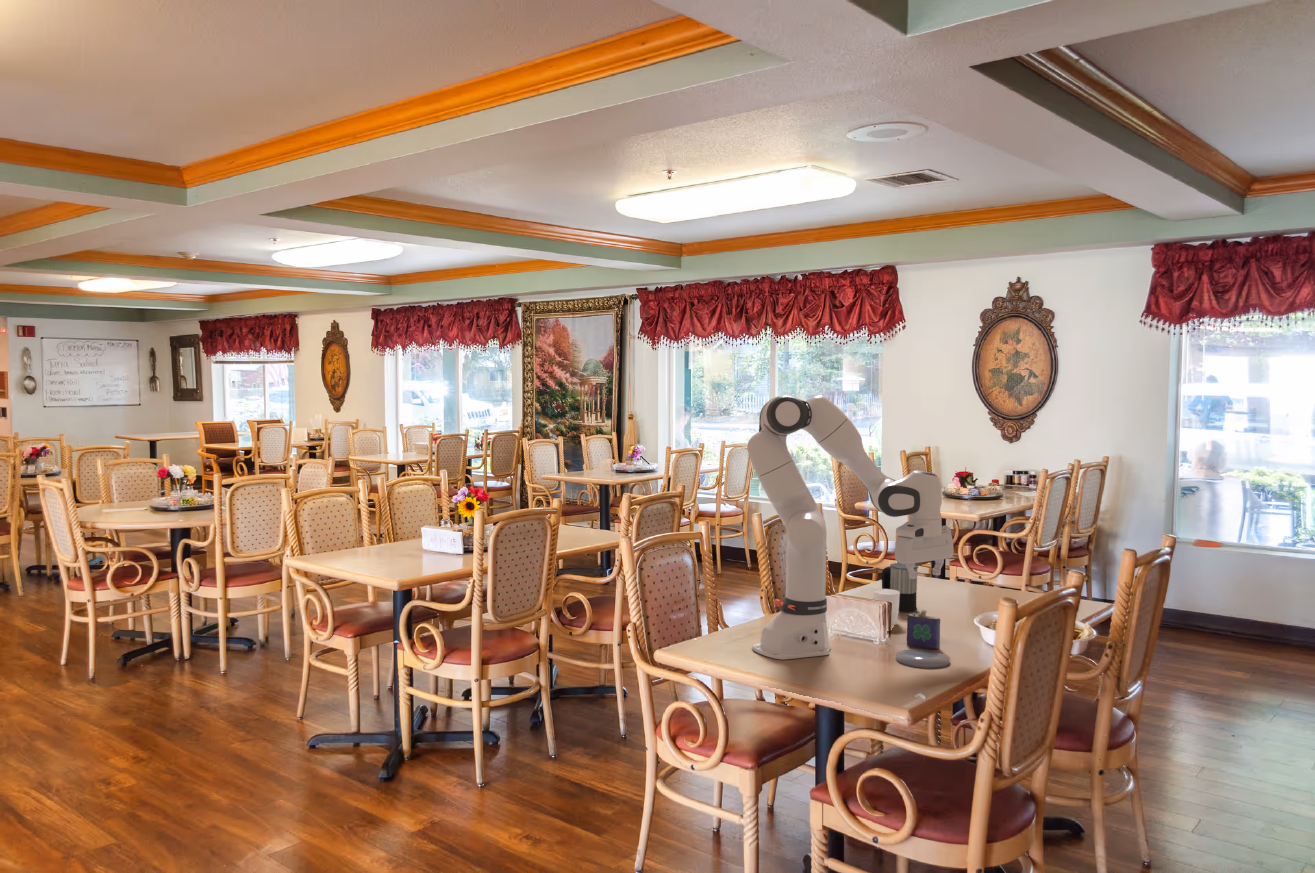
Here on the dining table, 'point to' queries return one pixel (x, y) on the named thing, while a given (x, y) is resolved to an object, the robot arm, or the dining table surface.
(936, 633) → the flask
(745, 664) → the dining table surface
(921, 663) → the plate
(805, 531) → the robot arm
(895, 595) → the white cup
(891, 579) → the milk frother
